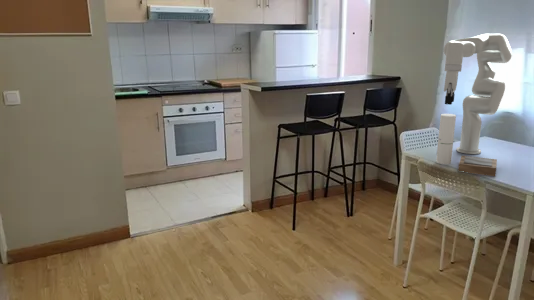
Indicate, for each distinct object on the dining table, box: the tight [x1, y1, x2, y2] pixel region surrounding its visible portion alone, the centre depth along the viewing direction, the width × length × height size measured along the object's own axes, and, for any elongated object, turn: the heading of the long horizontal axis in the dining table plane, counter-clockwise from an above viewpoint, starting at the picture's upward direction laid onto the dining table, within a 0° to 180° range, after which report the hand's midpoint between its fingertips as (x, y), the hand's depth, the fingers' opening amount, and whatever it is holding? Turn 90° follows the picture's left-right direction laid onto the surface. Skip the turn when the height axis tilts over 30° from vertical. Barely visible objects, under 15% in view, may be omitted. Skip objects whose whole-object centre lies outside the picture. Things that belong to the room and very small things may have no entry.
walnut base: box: [457, 155, 498, 177], centre depth 204 cm, size 16×16×4 cm
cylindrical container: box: [435, 113, 457, 165], centre depth 213 cm, size 7×7×25 cm
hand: (449, 102), depth 208 cm, fingers open, 9 cm apart
